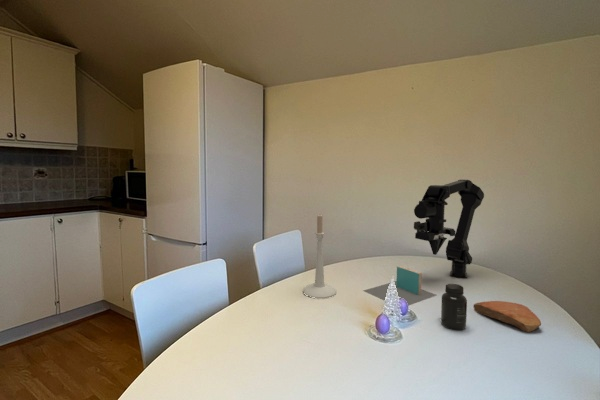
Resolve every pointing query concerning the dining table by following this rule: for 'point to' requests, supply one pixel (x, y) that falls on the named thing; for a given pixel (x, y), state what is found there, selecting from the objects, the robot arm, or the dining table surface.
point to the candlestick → (319, 270)
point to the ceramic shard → (510, 314)
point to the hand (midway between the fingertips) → (434, 254)
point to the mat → (400, 294)
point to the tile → (409, 280)
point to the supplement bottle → (454, 307)
